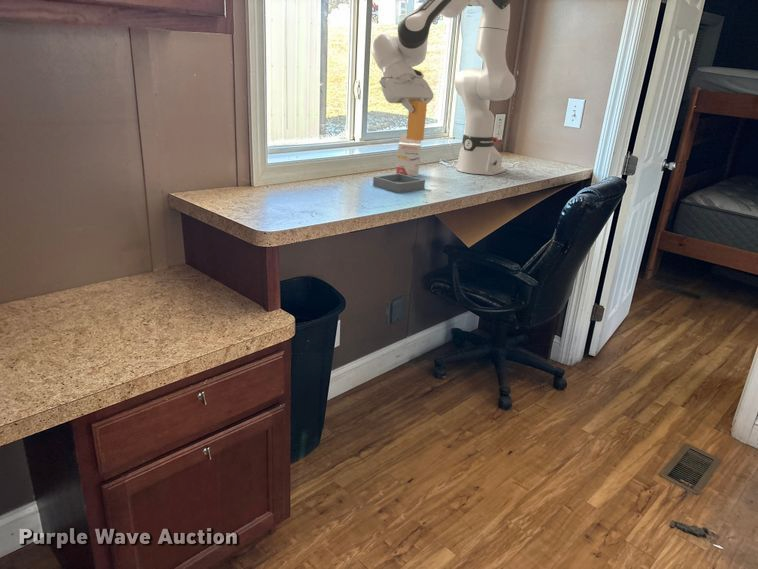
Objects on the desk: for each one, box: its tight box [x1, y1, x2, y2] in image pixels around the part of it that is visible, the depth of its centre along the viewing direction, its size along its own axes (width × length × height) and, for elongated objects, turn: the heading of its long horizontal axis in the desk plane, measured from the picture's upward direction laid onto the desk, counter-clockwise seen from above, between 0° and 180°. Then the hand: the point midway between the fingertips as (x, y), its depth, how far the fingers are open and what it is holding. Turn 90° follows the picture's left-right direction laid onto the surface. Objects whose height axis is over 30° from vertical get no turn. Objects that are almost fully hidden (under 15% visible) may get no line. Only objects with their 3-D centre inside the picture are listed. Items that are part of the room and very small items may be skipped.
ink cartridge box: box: [395, 133, 422, 177], centre depth 212 cm, size 9×5×15 cm, turn 84°
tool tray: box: [372, 173, 426, 194], centre depth 193 cm, size 13×13×3 cm
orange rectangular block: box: [406, 101, 428, 141], centre depth 185 cm, size 4×4×12 cm
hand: (418, 111), depth 183 cm, fingers closed on orange rectangular block, 4 cm apart
